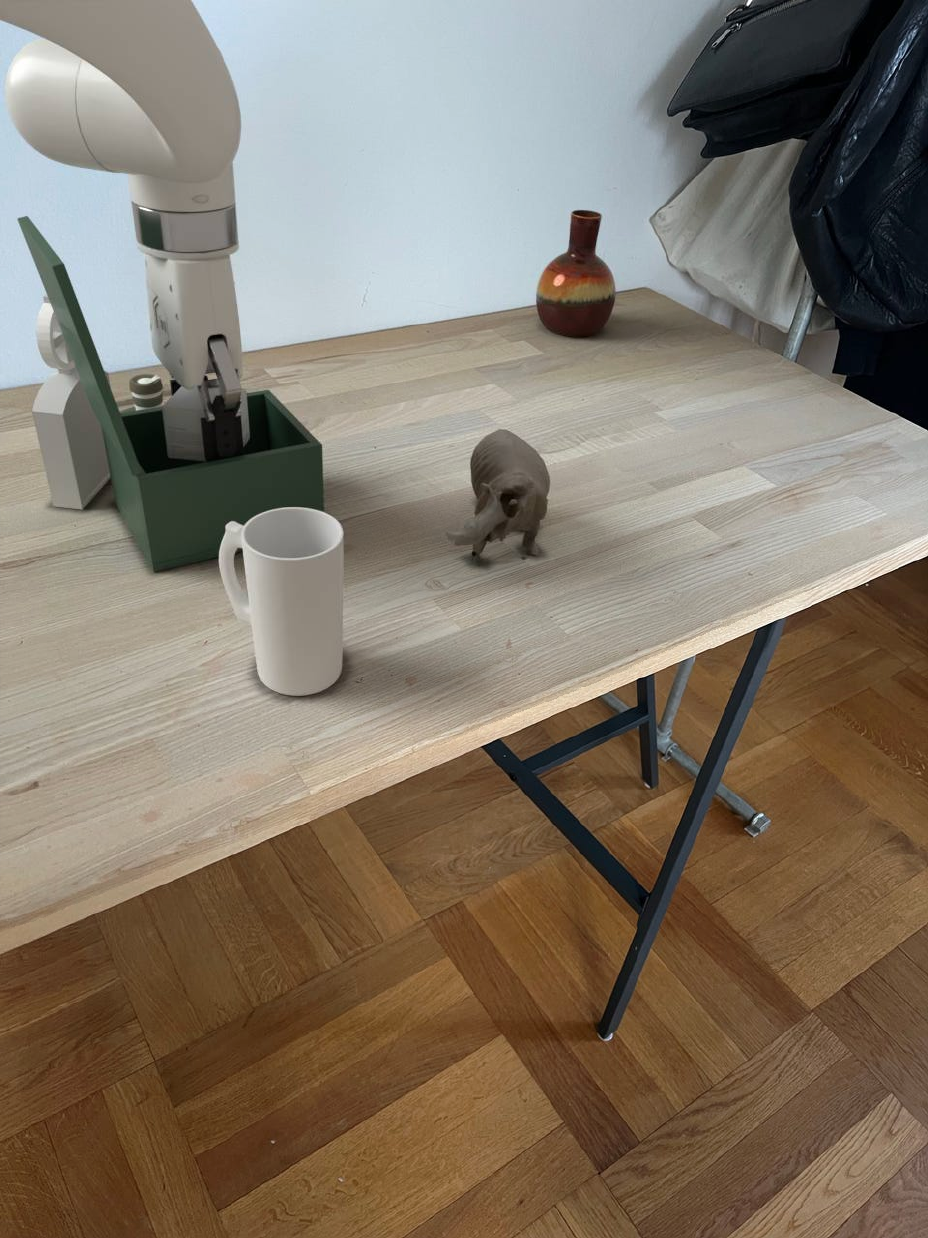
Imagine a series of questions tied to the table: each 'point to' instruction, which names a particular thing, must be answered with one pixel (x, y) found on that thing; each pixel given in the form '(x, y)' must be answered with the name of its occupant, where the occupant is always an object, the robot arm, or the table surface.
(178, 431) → the small box
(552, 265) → the vase
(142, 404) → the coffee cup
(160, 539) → the bin
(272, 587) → the mug
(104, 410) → the bin lid
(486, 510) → the rhinoceros figurine
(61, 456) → the gravestone
